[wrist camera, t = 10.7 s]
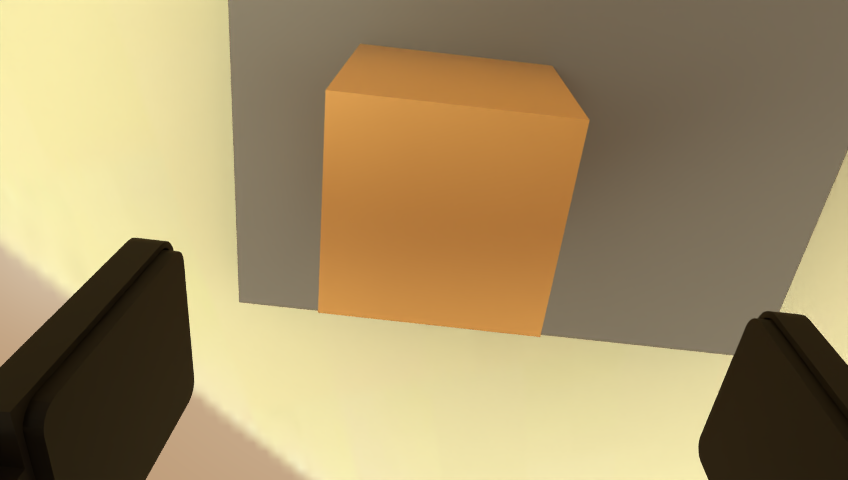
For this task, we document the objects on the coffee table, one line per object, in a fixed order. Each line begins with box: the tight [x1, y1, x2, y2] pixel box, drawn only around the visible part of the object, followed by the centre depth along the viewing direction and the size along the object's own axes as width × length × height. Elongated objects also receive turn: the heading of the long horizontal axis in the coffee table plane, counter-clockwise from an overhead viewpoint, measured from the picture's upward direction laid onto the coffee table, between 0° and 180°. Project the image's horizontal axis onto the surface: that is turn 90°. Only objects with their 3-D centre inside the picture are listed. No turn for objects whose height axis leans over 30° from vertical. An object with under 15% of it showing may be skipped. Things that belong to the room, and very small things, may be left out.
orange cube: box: [318, 44, 590, 337], centre depth 18 cm, size 6×6×6 cm
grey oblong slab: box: [228, 0, 848, 355], centre depth 22 cm, size 20×14×2 cm
